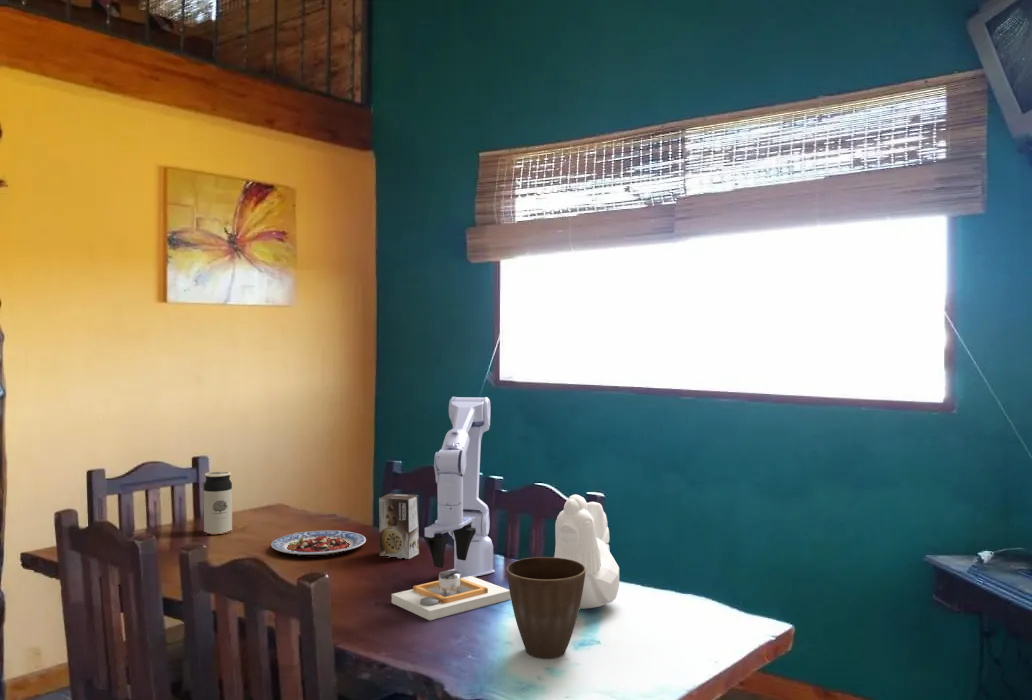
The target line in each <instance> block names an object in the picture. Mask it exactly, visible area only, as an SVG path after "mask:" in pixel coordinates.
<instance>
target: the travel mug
mask: <svg viewBox="0 0 1032 700" xmlns="http://www.w3.org/2000/svg"><path fill="white" fill-rule="evenodd" d="M231 475H232V472H230V471H228V470H227V471H225V470H224V471H222V470H220V471H210V472H209V471H208V472H206V473H204V476H205V482H204V484H203V533H204V532H207V533H223V532H227V531H230V530H232V531H233V487H232V486H233V484H232V481H231V480H230V477H231Z"/></svg>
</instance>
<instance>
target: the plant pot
mask: <svg viewBox="0 0 1032 700" xmlns="http://www.w3.org/2000/svg"><path fill="white" fill-rule="evenodd" d="M505 569H506V574H507V575H506V577H507V582H508V583H507V584H508V588H509V589H508V590H510V596H511V599H510V600H511V605H512V611H513V614H514V618H515V621H516V625H517V630H518V631H519V635H520V638H521V642H522V643H523V646H524V649H525V652H526V654H527V655H529V656H531V657H532V658H536V659H543V660H545V659H547V660H550V659H556V658H559V657H561V656H562V657H563V656H564V655H565V653H566V651H567V649H568V646H569V644H570V641H571V638H572V635H573V632H574V629H575V626H576V622H577V619H578V616H579V615H578V614H579V611H580V609H579V607H580V603H581V598H582V593H583V587H584V580H585V572H586V568H585V566H584V565H583V564H581V563H579V562H576V561H573V560H569V559H564V558H555V557H554V556H552V557H550V556H549V557H548V556H539V557H535V556H534V557H527V558H521V559H518V560H514V561H512V562H510V563H508V565H507V566H506V568H505Z"/></svg>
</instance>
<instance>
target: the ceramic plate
mask: <svg viewBox="0 0 1032 700" xmlns="http://www.w3.org/2000/svg"><path fill="white" fill-rule="evenodd" d="M328 538H330V539H333V540H330V539H328ZM309 539H310V540H309ZM302 540H303V541H302ZM345 541H346V542H347V543H349V544H350V545H349V547H347V548H345V547H346V546H348V544H347V543H346V542H345ZM366 541H367V539H366V537H365V536H364V535H363V534H360V533H358V532H357V533H356V532H352V531H346V530H311V531H310V530H309V531H301V532H295V533H290V534H287V535H284V536H281V537H279V538H276V539H274V540H273V541H272V542H271V544H270V545H271V548H272V549H274V550H276V551H278V552H281V553H285V554H292V555H295V554H297V555H296V556H301V555H325V556H327V555H326V554H332V555H334V554H333V553H337V554H339V553H338V552H341V553H343V552H342V551H344V552H346V551H351V550H353V549H356V548H357V549H358V548H359V547H361V546H363V545H364V544H365V543H366ZM294 542H295V543H294ZM297 543H300V544H299V545H297V546H296V547H295V548H294V550H295V551H291V550H288V549H287V547H288V545H290V546H291V545H292V544H294V545H296V544H297Z"/></svg>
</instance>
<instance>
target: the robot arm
mask: <svg viewBox="0 0 1032 700" xmlns="http://www.w3.org/2000/svg"><path fill="white" fill-rule="evenodd" d="M491 408H492V407H491V400H490V398H489V397H487V396H485V397H471V396H470V397H467V396H466V397H465V396H463V397H462V396H461V397H458V396H452V397H451V398H450V399H449V404H448V416H449V420H450V422H451V424H452V428H451V429H449V430H448V431H447V433H446V434H445V437H444V440H443V443H442V446H441V449H439V451H436V452H435V454H434V460H433V461H434V462H433V467H434V468H433V469H434V474H435V483H436V485H437V489H436V490H437V519H436V520H435V521H434V523H433V524H431V525H429V526H426V527H424V534H423V540H424V541H425V543H426V545H427V547H428V549H429V551H430V554H431V558H432V561H433V566H434V567H435V568H437V569H438V568H439V569H442V568H444V565H445V552H446V547H447V543H448V540H449V538H448V537H444V536H443V535H442V534H445V533H448V534H449V536H450V537H452V540H454V541H453V547H454V549H453V550H454V551H453V552H454V555H453V558H454V560H453V561H454V563H453V564H454V566H453V568H452V569H448V570H446V571H458V572H460V578H463V577H468V576H473V577H475V578H478V577H481V576H485V575H490V574H494V573H495V572H496V570H495V569H494V545H493V542H492V539H491V538H490V537H489V536H488V535H489V532H490V523H491V522H490V509H489V506H488V504H486V503H485V502H484V501H483V500H481V499H480V497H479V495H480V494H479V492H480V491H479V490H480V473H481V472H480V470H481V466H480V465H481V451H482V450H481V447H482V446H481V444H482V438H483V434H484V433H485V432H487V431H489V430H490V427H491V411H492V410H491ZM464 510H466V511H464ZM470 510H471V511H470ZM472 510H473V511H472ZM477 510H478V511H477Z"/></svg>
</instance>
